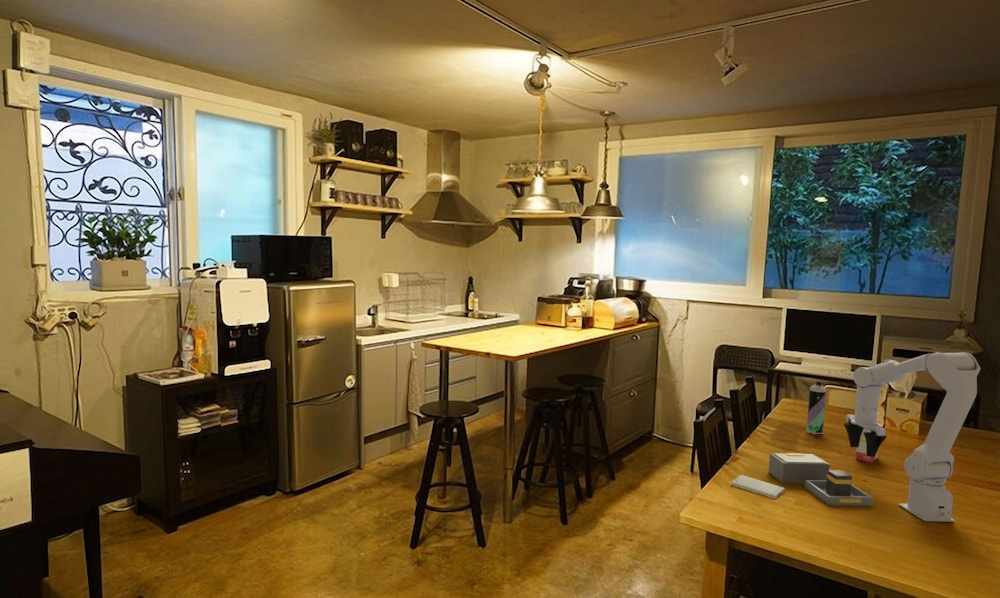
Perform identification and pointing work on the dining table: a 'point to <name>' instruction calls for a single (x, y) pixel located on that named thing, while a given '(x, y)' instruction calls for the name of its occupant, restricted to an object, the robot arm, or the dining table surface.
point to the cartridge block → (838, 483)
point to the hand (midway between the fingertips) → (862, 451)
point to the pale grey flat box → (797, 467)
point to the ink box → (864, 449)
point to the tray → (854, 499)
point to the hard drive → (758, 486)
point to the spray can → (816, 408)
